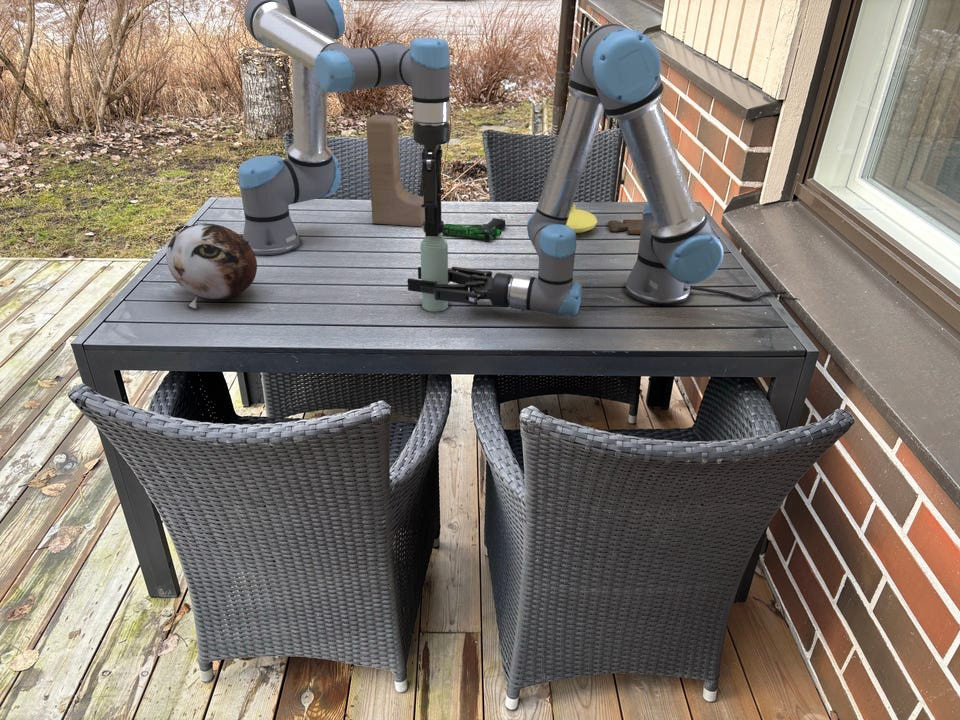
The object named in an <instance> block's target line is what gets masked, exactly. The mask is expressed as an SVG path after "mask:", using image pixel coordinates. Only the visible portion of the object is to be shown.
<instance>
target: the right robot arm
mask: <svg viewBox="0 0 960 720" xmlns="http://www.w3.org/2000/svg"><path fill="white" fill-rule="evenodd" d="M661 73H662V60H661V55H660V52H659V50H658V48H657V46H656V45H655V44H654V42H653V41H652V40H651V39H650V38H649V37H648V36H647V35H645V34H644V33H642V32H640V31H638V30H636V29H630V28H628V27H626V26H623V25H622V24H618V23H605V24H601V25H599V26H596V27H595V28H593V29H592V30H591V31H589V33H588V34H587V35H586V36H585V37H584V39H583V40H582V42H581V44H580V46H579V49H578V51H577V54H576V58H575V62H574V65H573V68H572V71H571V75H570V78H569V82H568V86H567V88H568V90H569V91H570V95H569V98H568V103H567V105H566V109H565V112H564V116H563V119H562V121H561V122H562V123H561V125H560V129H559V132H558V136H557V139H556V143H555V146H554V149H553V153H552V156H551V160H550V163H549V165H548V169H547V173H546V176H545V180H544V182H543V186H542V189H541V193H540V196H539V199H538V202H537V206H536V209H535V212H534V213H533V214H531V215H530V217H529V218H528V220H527V223H526V231H527V236H528V239H529V240H530V242H531V244H532V246H533V248H534V250H535V252H536V254H537V257H538V271H537V277H535V276H529V275H520V274H515V275H514V276H513V275H512V274H511V273H505V272H503V273H502V272H497V273H495V275H494V276H493V271H492V270H480V269H479V270H478V269H471V268H466V267H459V266H452V267H450V268H448V284H437V281H435V282H432V281H425V280H421V266H418V268H417V278H407V291H408V292H416V293H421V294H422V293H429V294H434V295H435V300H441V301H448V302H449V303H450V302H451V303H461V304H468V305H472V306H478V302H479V300H489V301H490V303H491V306H493V307H498V308H505V309H507V308H509V307H510V309H512V310H513V309H514V310H519V311H521V312H525V311H529V312H534V313H535V312H536V313H543V314H549V315H555V316H557V317H558V316H564V317H574V316H577V314H578V313H579V310H580V306H581V302H582V301H581V300H582V294H583V293H582V292H583V291H582V289H583V287H582V286H583V285H582V284H581V283H579V282H577V281H574V269H575V268H574V267H575V257H576V250H577V233H575V231H574V229H572V228H570V227H568V226H566V224H567V221H568V218H569V214H570V211H571V208H572V205H574V202H575V199H576V195H577V193H578V190H579V186H580V183H581V180H582V178H583V174H584V171H585V169H586V165H587V162H588V159H589V156H590V153H591V151H592V148H593V144H594V142H595V138H596V135H597V132H598V130H599V126H600V123H601V120H602V117H603V114H604V113H605V116H606V117H608V118H611V119H613V120H616V122H617V125H618V128H619V130H620V133H621V135H622V139H623V141H624V143H625V146H626V148H627V151H628V154H629V156H630V157H629V158H630V160H631V162H632V165H633V167H634V170H635V173H636V175H637V178H638V181H639V183H640V186H641V189H642V191H643V194H644V196H645V199H646V203H644V208H643V212H642V213H641V215H642V219H641V220H642V226H641V234H639V243H638V249H637V258H636V260H635V263H634V265H633V267H632V268H631V271H630V273H629V275H628V277H627V279H626V281H625V282H626V283H625V292H626V294H627V295H628V296H629V297H631V298H632V299H633V300H636V301H638V302H641V303H643V304H648V305H654V306H676V305H680V304H682V303H684V302H685V303H686V301H687V300H688V299H689V298H690V296H691V295H690V293H691V290H693V291H694V290H695V291H700V292H707V293H711V294H712V293H713V294H717V295H724V296H728V297H729V296H730V297H731V298H734V299H735V298H736V299H738V300H743V301H755V300H758V299H759V298H761V297H763V296H773V295H787V296H789V295H788V294H786V291H787V290H773V291H762V292H759V293H758V294H757V295H754V296H745V295H739V294H736V293H732V292H728V291H723V290H719V289H712V288H706V287H700V286H694V285H692V284H699V283H702V282H704V281H706V280H707V279H709V278H711V277H712V276H713V275H714V274H715V273H716V272H717V271H718V269H719V268H720V265H722V263H723V260H724V253H725V251H724V247H723V245H722V243H721V241H720V239H719V238H718V237H717V236H715V235H714V233H713V231H712V228H711V225H710V221H709V219H708V216H707V214H706V210H705V209H704V208H703V207H702V206H700V205H697V203H696V202H695V201H694V199H693V196H692V193H691V190H690V187H689V184H688V182H687V178H686V176H685V172H684V169H683V167H682V164H681V161H680V158H679V155H678V151H677V149H676V146H675V143H674V140H673V137H672V134H671V131H670V129H669V126H668V123H667V120H666V117H665V114H664V111H663V108H662V105H661V102H660V100H661V97H662V96H663V93H664V91H665V87H664V84H663V82H662V78H661Z"/></svg>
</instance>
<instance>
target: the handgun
mask: <svg viewBox="0 0 960 720" xmlns="http://www.w3.org/2000/svg"><path fill="white" fill-rule="evenodd" d="M505 228H506V220H505V219H503V218H497V217H492V219H491V220H490V221H489V222H488V223H483V224H482V225H479V224H472V225H459V224H453V223H444V231H443V232H442V233H441V235H446V236H454V237H462V238H469V239H470V238H471V239H474V240H479V241H484V242H491V241H492V240H494V239H495V238H497V237H500V236H502V230H504V229H505Z"/></svg>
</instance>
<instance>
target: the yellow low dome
mask: <svg viewBox="0 0 960 720" xmlns="http://www.w3.org/2000/svg"><path fill="white" fill-rule="evenodd" d="M597 223H598V219H597V217H596V215H595V214H593V213H591V212H589V211H587V210H584V209H578V208H576V205H575V204H573V205H572V208H571V211H570V214H569V218H568V221H567V224H566V226H568V227H570V228H572V229H574V231H575V233H576V234H580V233H584V232H585V233H586V232H587V231H591V230H592V229H594V228H596V226H597Z"/></svg>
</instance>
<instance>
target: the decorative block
mask: <svg viewBox="0 0 960 720" xmlns="http://www.w3.org/2000/svg"><path fill="white" fill-rule="evenodd" d="M398 118H399V117H397V116H396V115H390V114H389V115H387V114H386V115H385V114H372V115H371V116H370V117H368V118H367V119H366V120H365V129H366V142H367V145H366V146H367V158H368V172H369V190H370V203H371V219H372V220H371V221H372V223H373V224H376V225H377V224H379V225H391V226H392V225H393V226H410V227H423V222H424V221H425V208H421V205H423V203H424V196H423V195H422V196H421V195H417V194H412V193H410V192H409V191H408V190H406V189H405V186H404V184H403V182H402V180H401V163H400V161H401V160H400V138H399V120H398Z"/></svg>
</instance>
